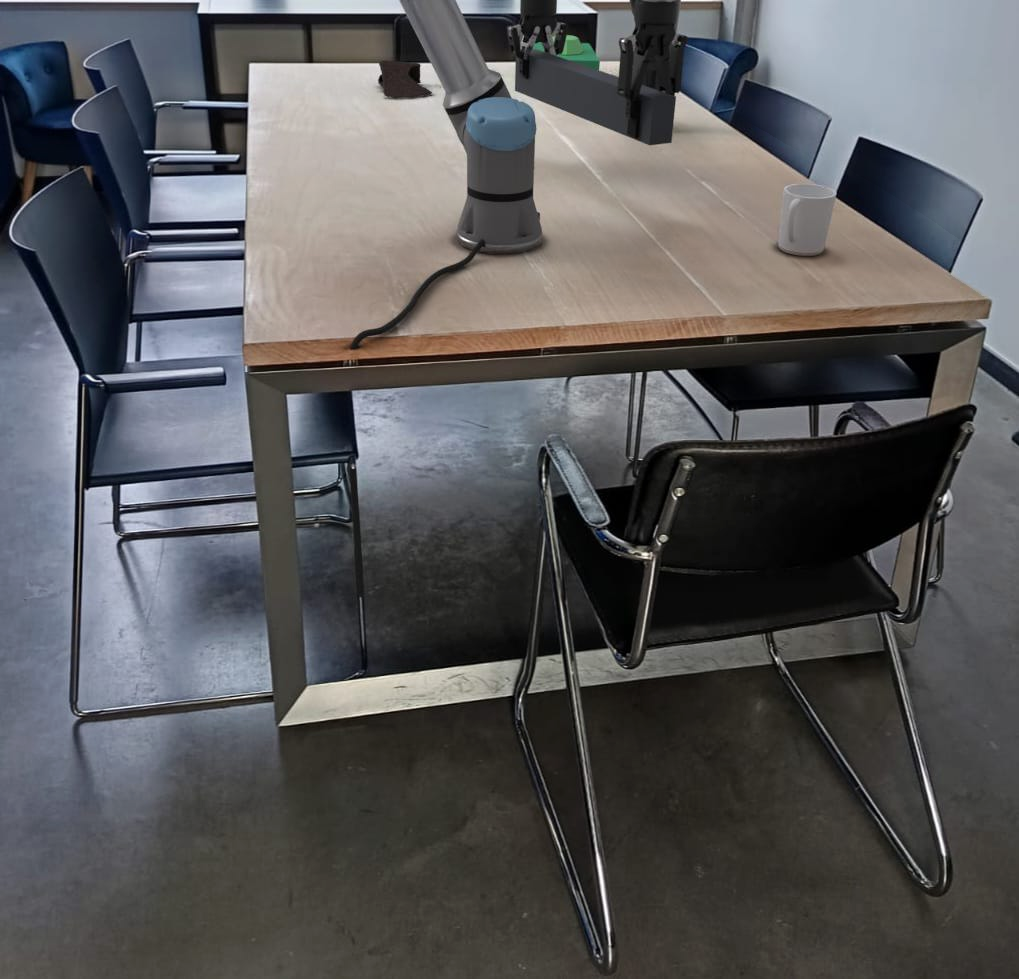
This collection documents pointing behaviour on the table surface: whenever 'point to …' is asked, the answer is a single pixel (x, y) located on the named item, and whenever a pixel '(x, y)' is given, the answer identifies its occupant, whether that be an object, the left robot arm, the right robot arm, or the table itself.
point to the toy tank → (576, 52)
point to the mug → (805, 218)
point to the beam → (595, 96)
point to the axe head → (401, 79)
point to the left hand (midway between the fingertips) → (645, 134)
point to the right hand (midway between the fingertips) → (536, 76)
